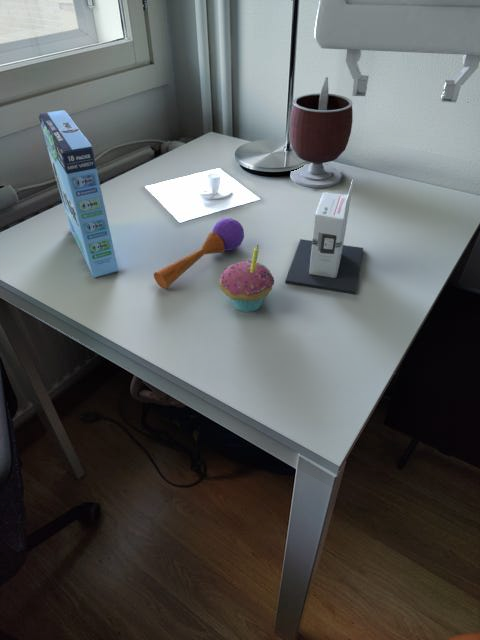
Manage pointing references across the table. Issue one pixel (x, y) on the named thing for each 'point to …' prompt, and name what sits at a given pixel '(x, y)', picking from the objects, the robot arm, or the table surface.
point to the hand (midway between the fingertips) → (402, 97)
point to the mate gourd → (319, 135)
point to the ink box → (329, 233)
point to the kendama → (204, 250)
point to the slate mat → (341, 283)
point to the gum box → (80, 190)
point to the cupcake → (247, 283)
